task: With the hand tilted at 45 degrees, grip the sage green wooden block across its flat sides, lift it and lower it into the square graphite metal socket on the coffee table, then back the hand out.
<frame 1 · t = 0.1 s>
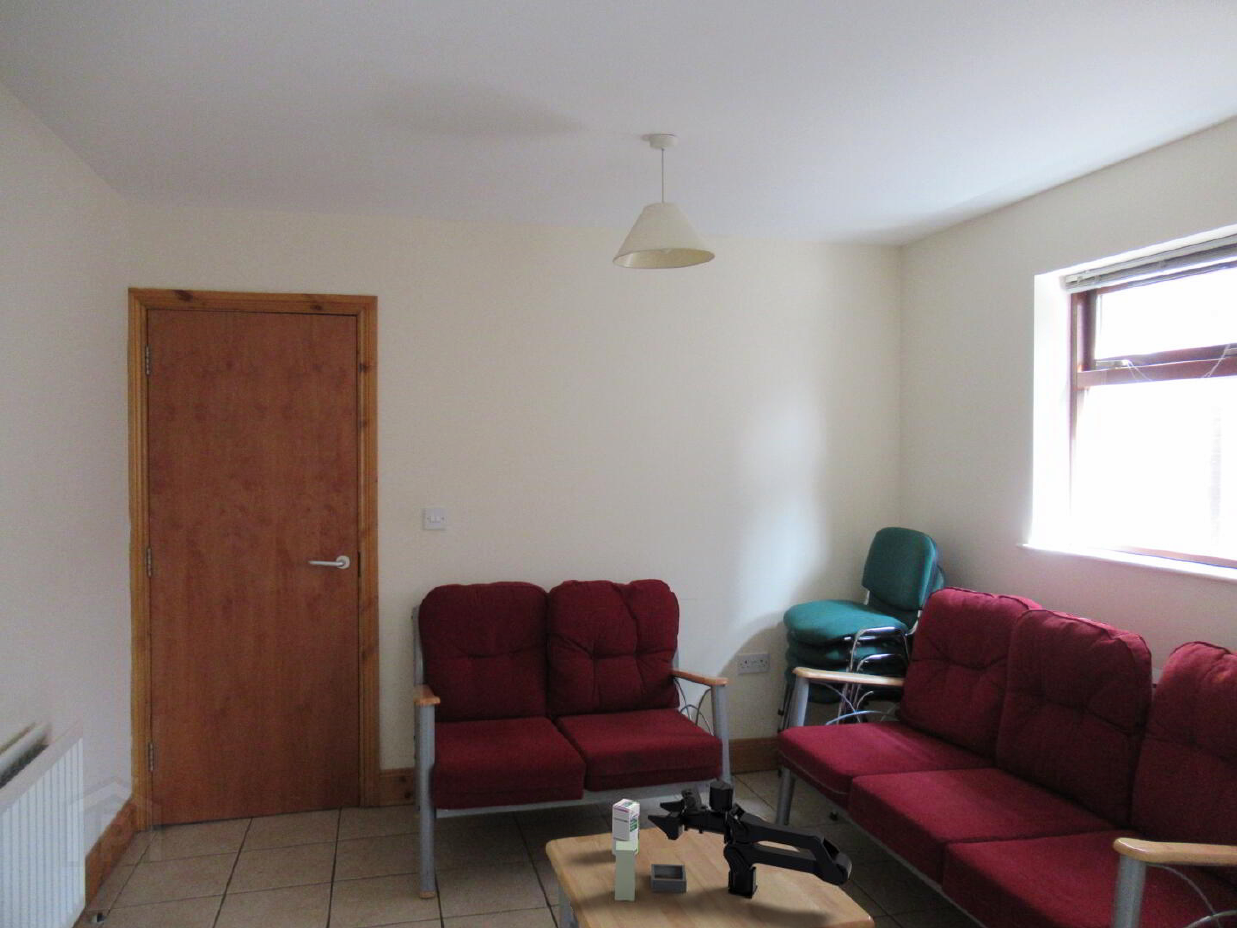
hand: (654, 810, 244), 17 cm above the table, tool horizontal, fingers open, 9 cm apart
square socket: (668, 883, 238), on the table
sage block: (624, 895, 231), on the table
syrup box: (625, 854, 255), on the table
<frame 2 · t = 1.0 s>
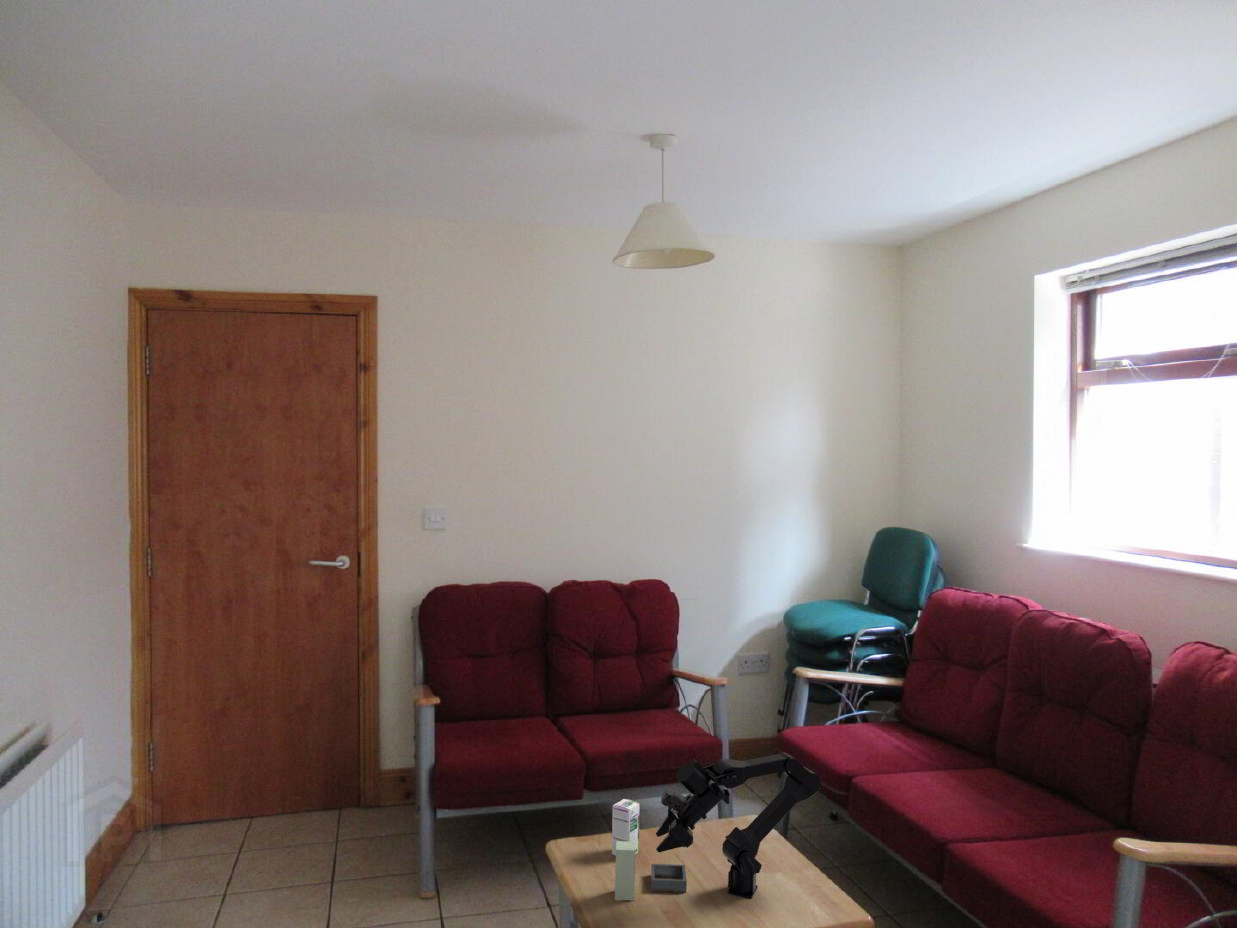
hand: (657, 842, 231), 14 cm above the table, tool tilted 45°, fingers open, 9 cm apart
nothing on the table moved.
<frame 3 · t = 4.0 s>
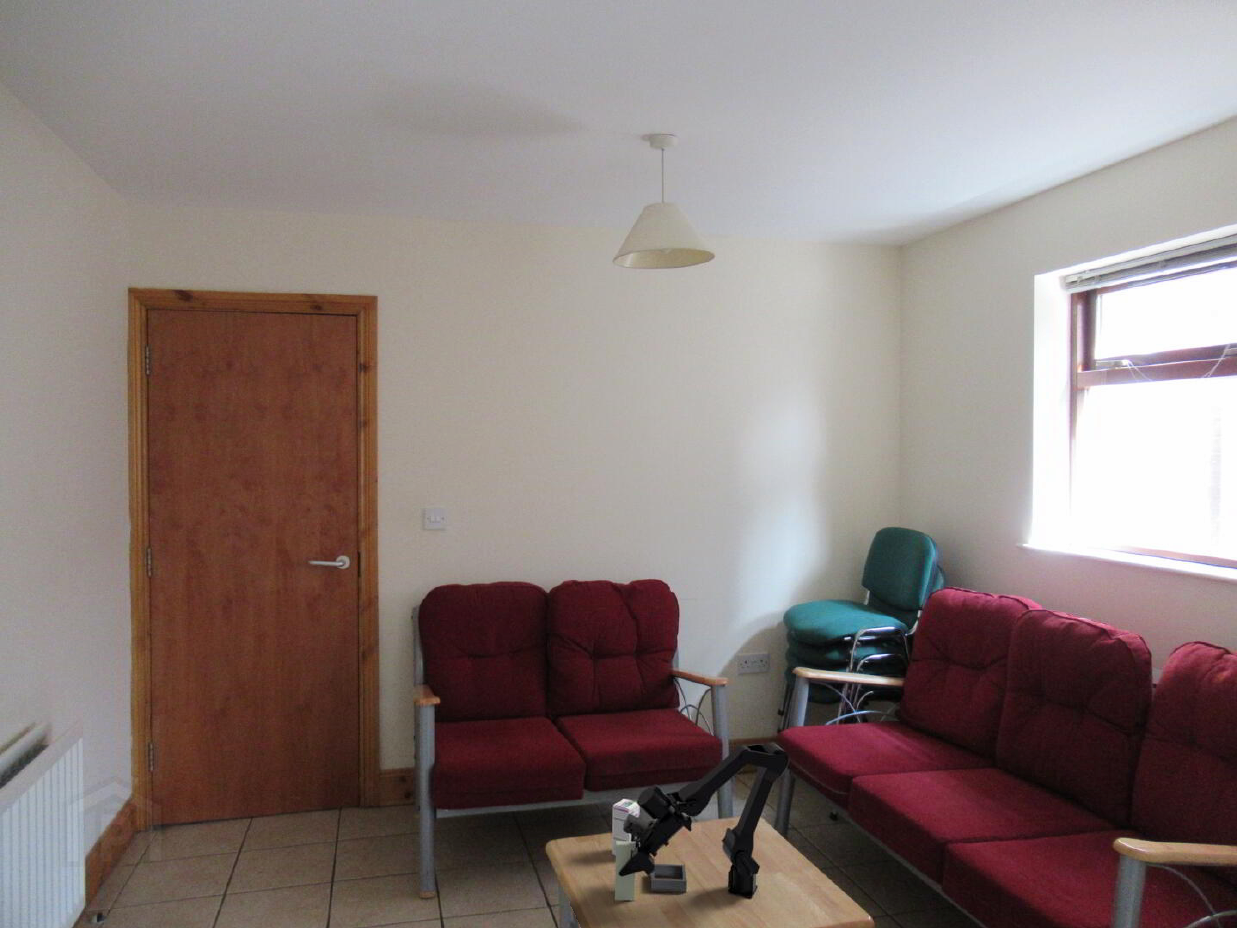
hand: (619, 869, 231), 7 cm above the table, tool tilted 45°, fingers closed on sage block, 5 cm apart
sage block: (624, 895, 231), on the table, touching gripper
everything else where it was.
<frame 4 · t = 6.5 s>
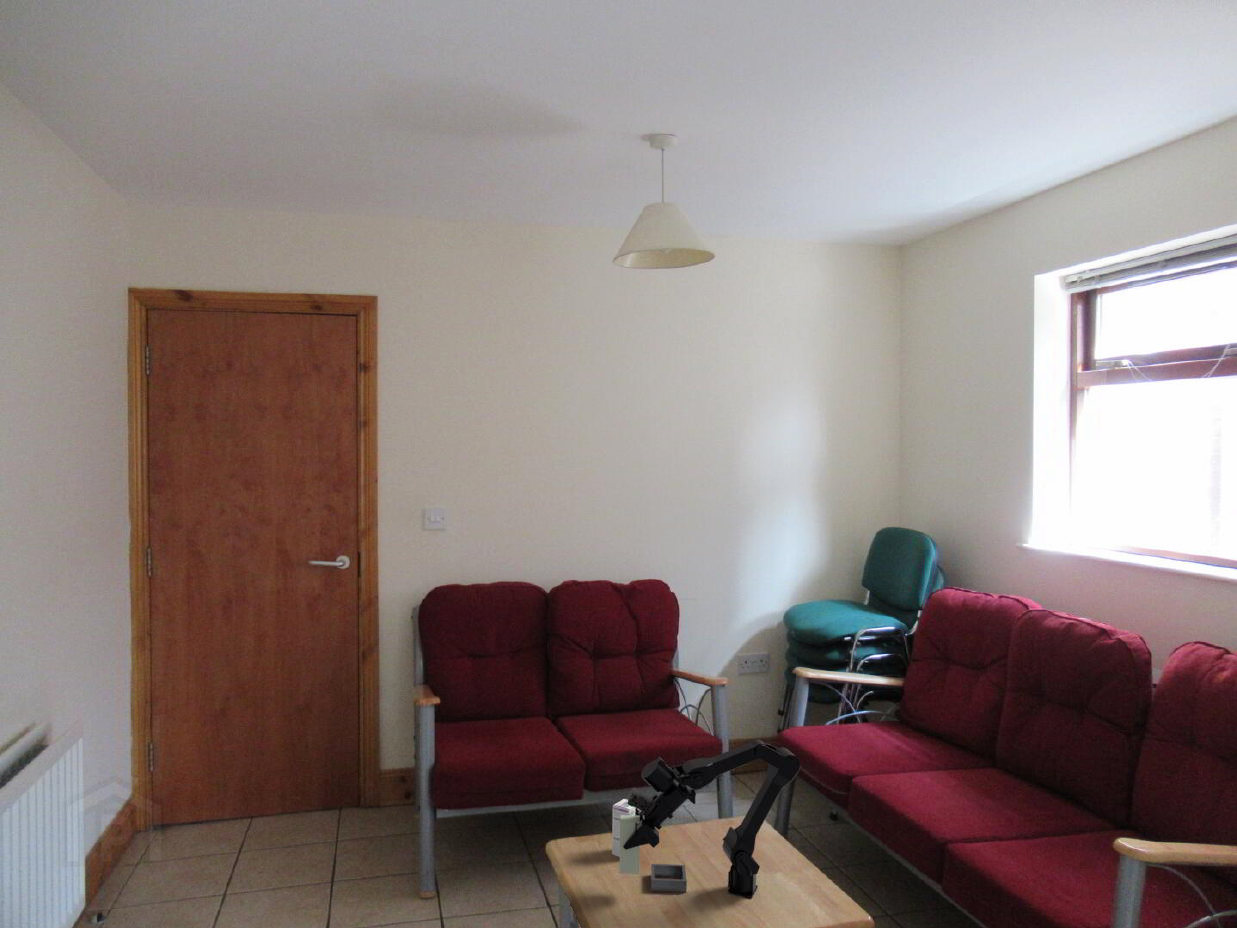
hand: (624, 843, 231), 13 cm above the table, tool tilted 45°, fingers closed on sage block, 5 cm apart
sage block: (629, 868, 231), point 7 cm above the table, touching gripper
everything else where it was.
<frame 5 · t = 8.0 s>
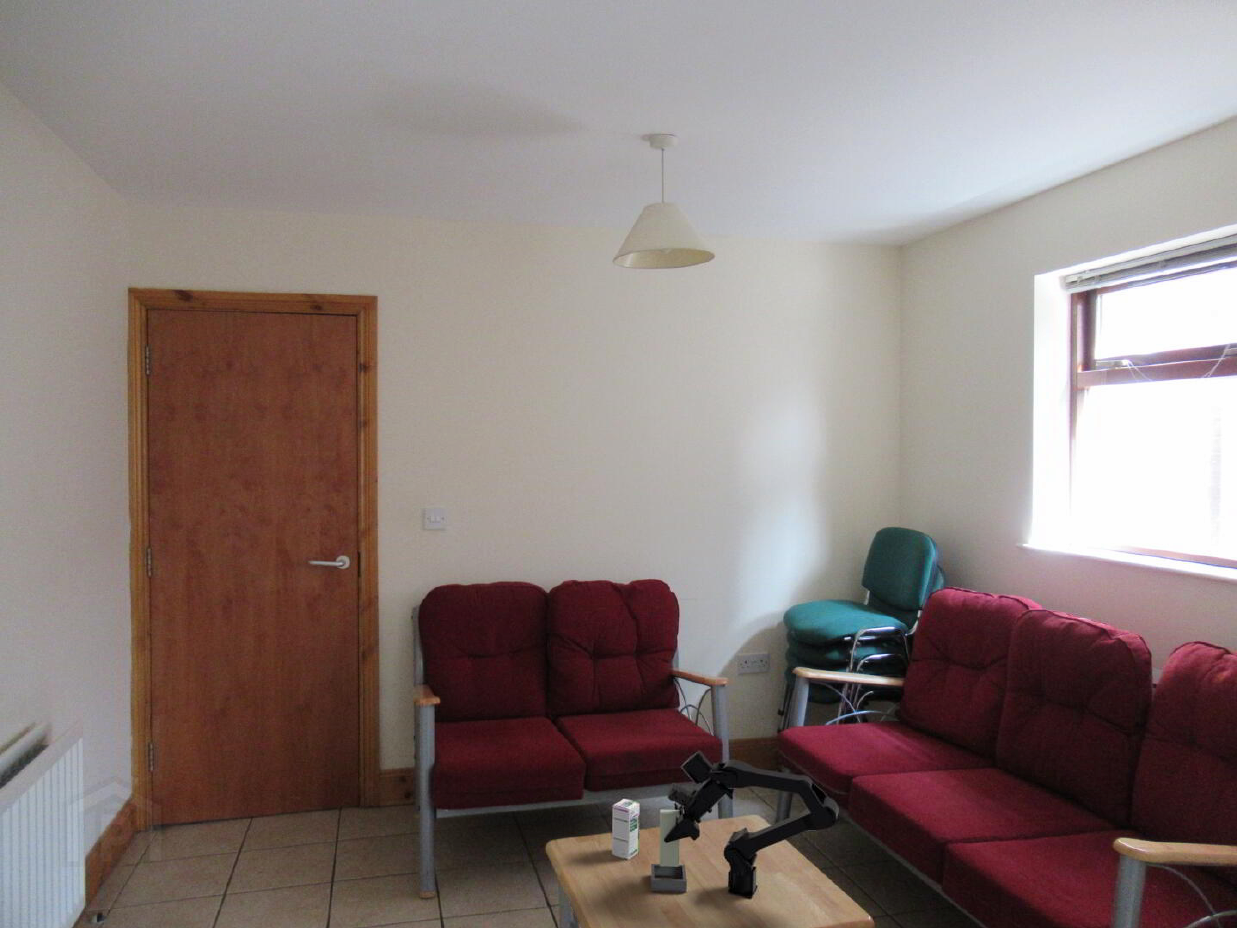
hand: (664, 836, 238), 12 cm above the table, tool tilted 45°, fingers closed on sage block, 5 cm apart
sage block: (669, 861, 238), point 6 cm above the table, touching gripper
everything else where it was.
when the fingers open (8 cm above the table, at t = 9.3 s): sage block drops 1 cm, resting in square socket.
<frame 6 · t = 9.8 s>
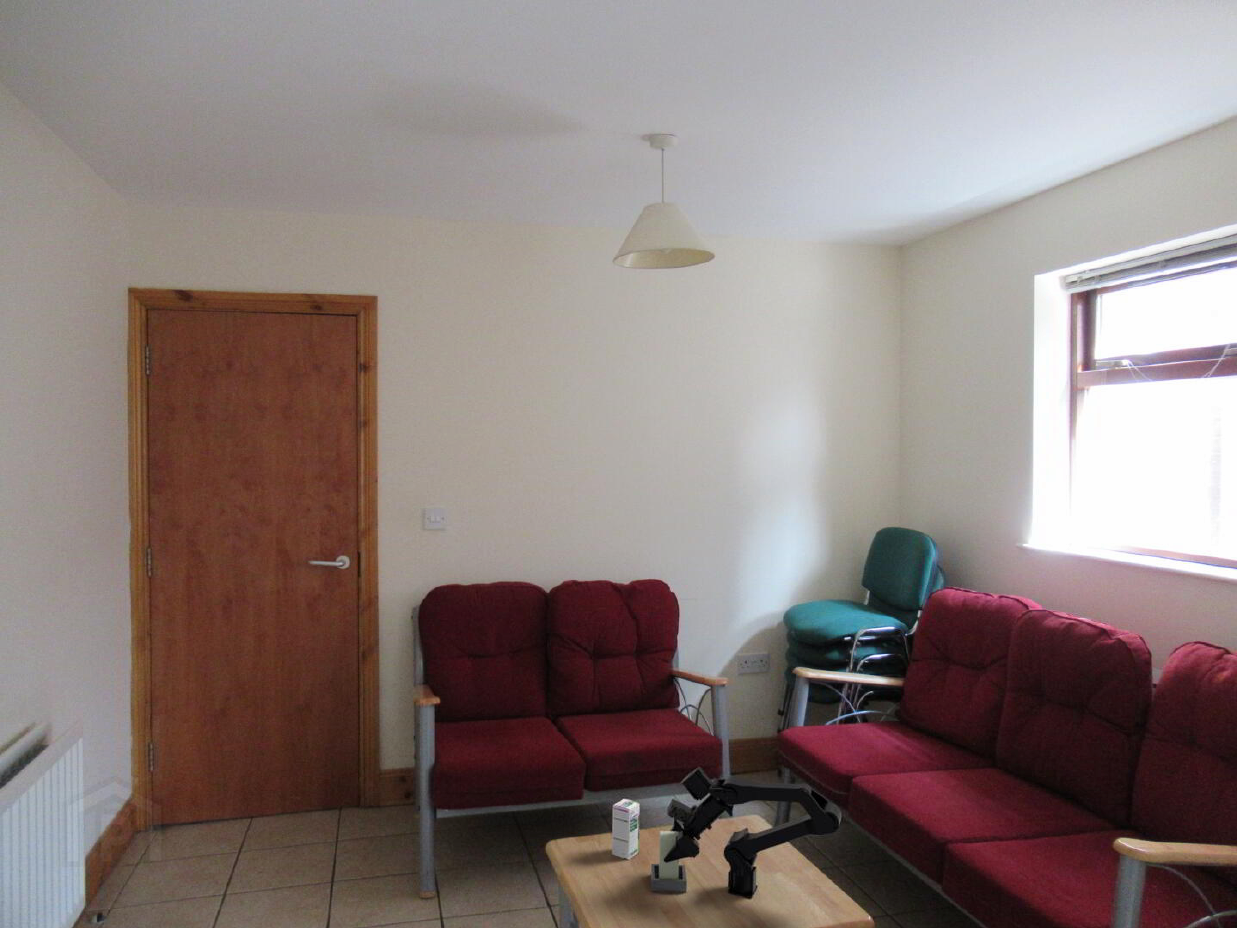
hand: (663, 853, 238), 8 cm above the table, tool tilted 45°, fingers open, 9 cm apart
sage block: (668, 883, 238), resting in square socket
everything else where it was.
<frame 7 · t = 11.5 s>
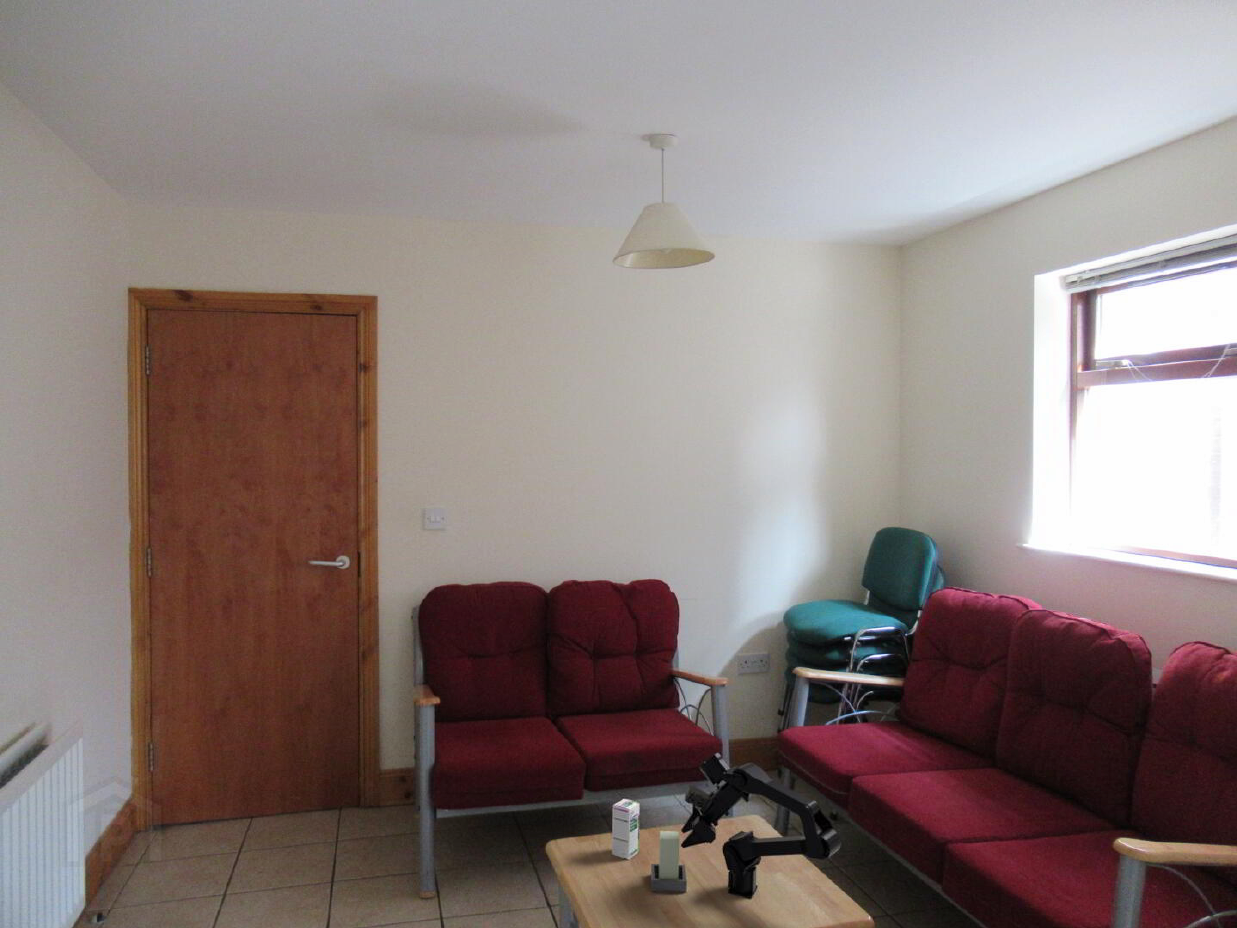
hand: (682, 838, 238), 12 cm above the table, tool tilted 45°, fingers open, 9 cm apart
nothing on the table moved.
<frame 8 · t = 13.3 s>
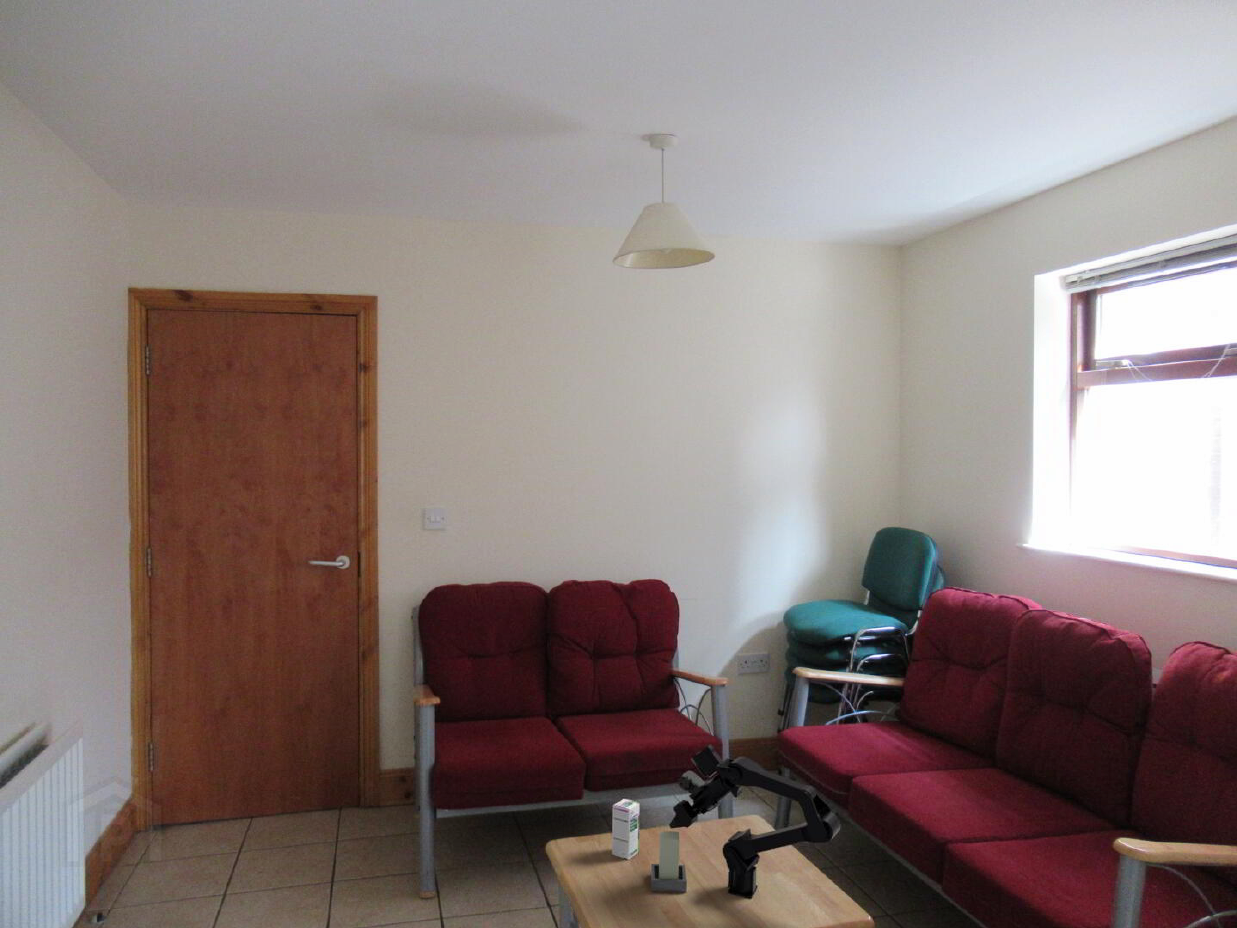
hand: (678, 820, 245), 14 cm above the table, tool tilted 45°, fingers open, 9 cm apart
nothing on the table moved.
at the end: sage block 0.0 cm off-centre on the square socket, point 0.0 cm above the square socket's base; sage block tilted 0°; the gripper is holding nothing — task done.
